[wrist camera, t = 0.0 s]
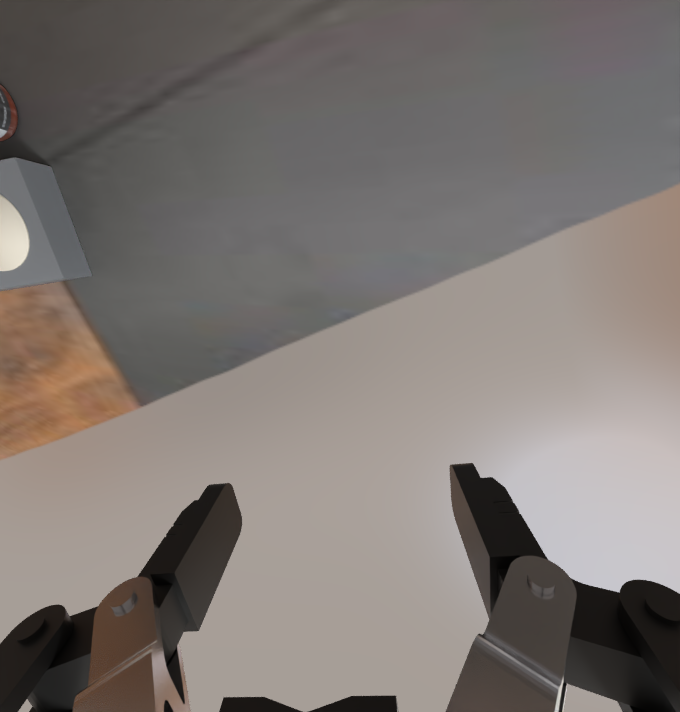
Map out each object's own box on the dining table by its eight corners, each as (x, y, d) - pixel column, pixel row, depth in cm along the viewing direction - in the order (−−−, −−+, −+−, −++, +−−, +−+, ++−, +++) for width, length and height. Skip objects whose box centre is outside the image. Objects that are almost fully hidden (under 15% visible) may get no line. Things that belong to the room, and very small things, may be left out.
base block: (-42, 186, 38) (-90, 178, 34) (51, 166, 36) (12, 156, 32) (6, 290, 41) (-32, 294, 37) (92, 275, 40) (62, 279, 36)
